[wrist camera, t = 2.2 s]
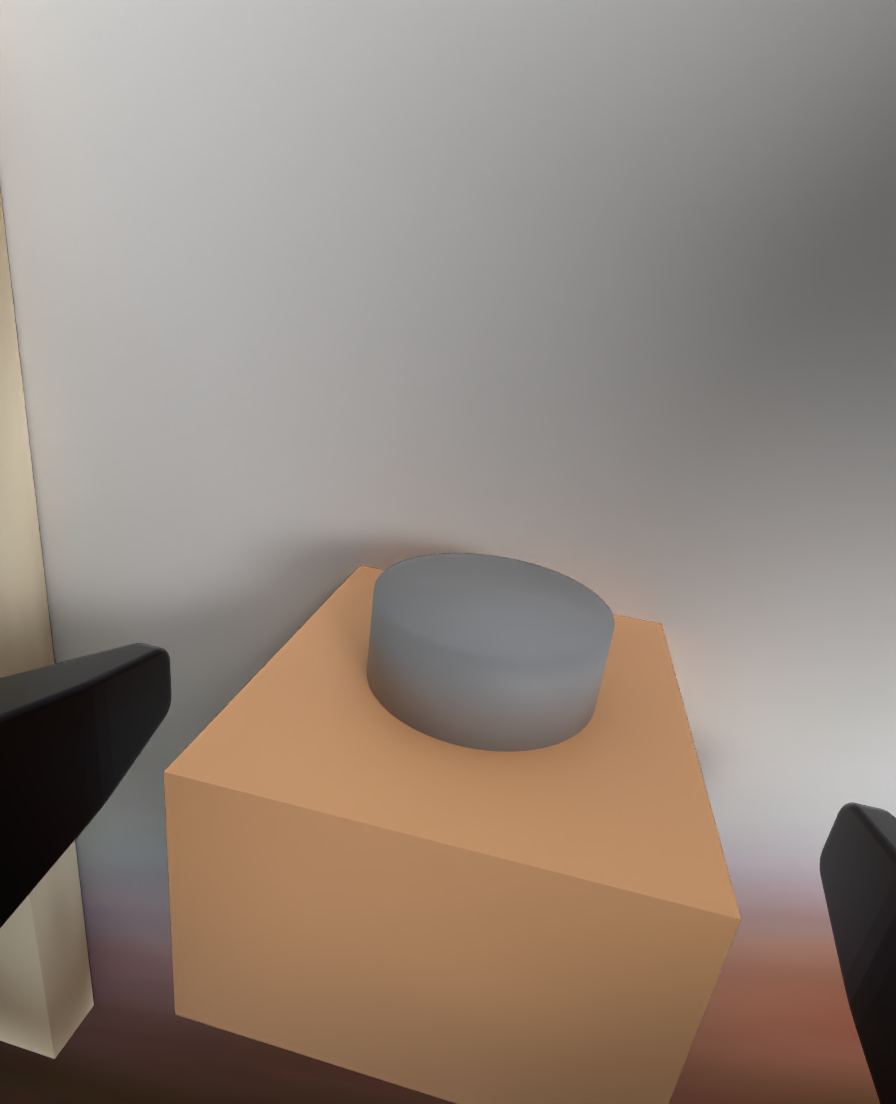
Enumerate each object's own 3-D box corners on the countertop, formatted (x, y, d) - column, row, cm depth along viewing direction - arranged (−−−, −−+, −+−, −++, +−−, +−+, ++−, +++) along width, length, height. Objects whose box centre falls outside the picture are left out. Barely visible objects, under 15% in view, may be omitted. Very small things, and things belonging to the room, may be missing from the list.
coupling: (365, 502, 9) (159, 668, 5) (678, 559, 9) (783, 811, 4) (344, 770, 11) (177, 1078, 7) (604, 834, 11) (621, 1226, 6)
